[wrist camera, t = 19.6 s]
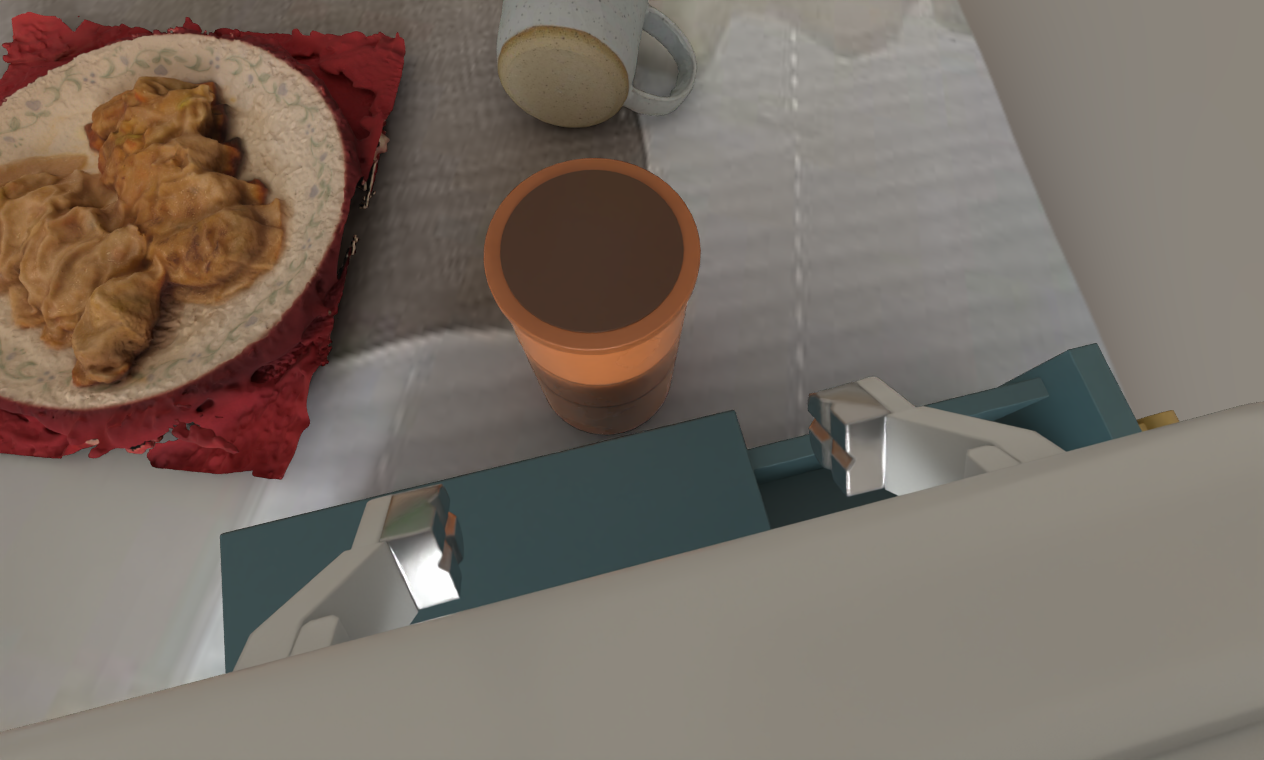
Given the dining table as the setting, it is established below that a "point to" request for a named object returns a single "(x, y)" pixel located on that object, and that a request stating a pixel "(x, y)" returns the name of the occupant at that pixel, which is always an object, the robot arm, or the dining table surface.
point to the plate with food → (177, 233)
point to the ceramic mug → (585, 58)
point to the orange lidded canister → (595, 286)
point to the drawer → (1036, 400)
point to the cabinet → (528, 522)
